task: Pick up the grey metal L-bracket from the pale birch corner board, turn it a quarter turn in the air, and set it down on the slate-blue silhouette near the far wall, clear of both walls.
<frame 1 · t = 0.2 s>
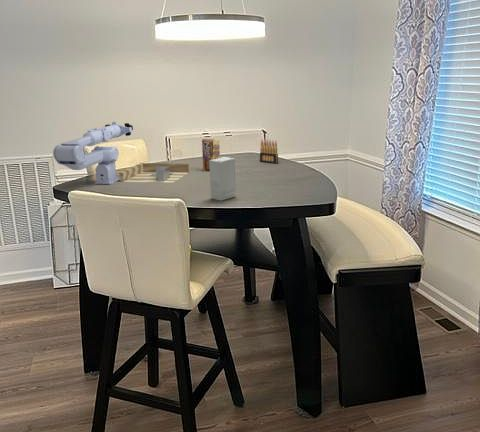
hand: (124, 128, 238), 21 cm above the table, tool horizontal, fingers open, 7 cm apart
skincare box: (223, 198, 191), on the table
arena: (156, 178, 230), on the table
ammunition clip: (268, 163, 263), on the table
bracket: (164, 179, 223), point 1 cm above the table, touching arena
candy box: (211, 171, 244), on the table
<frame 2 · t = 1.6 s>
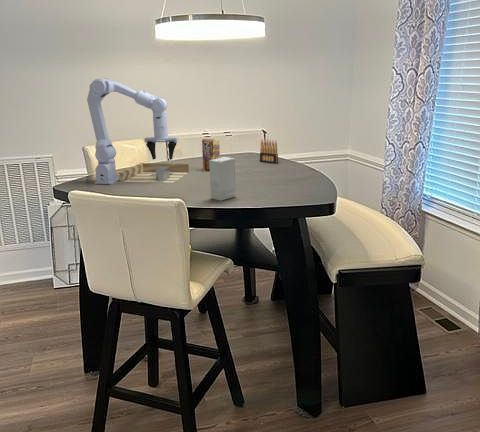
hand: (162, 159, 220), 10 cm above the table, tool pointing down, fingers open, 7 cm apart
nothing on the table moved.
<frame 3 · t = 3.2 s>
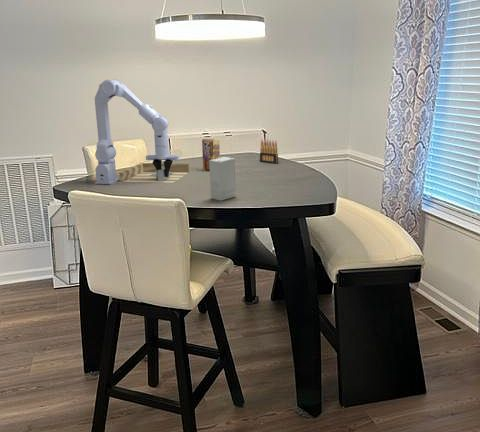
hand: (163, 176, 222), 2 cm above the table, tool pointing down, fingers closed on bracket, 2 cm apart
bracket: (164, 179, 223), point 1 cm above the table, touching arena, gripper
everything else where it was.
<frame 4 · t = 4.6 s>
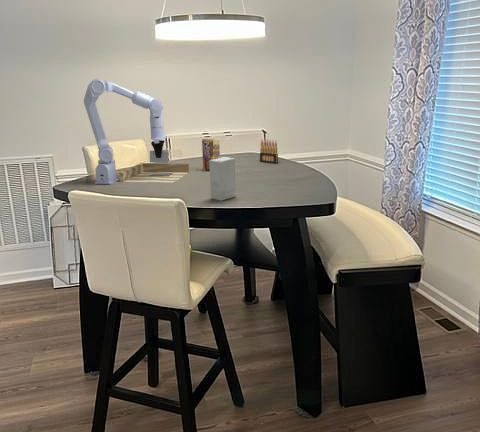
hand: (158, 157, 228), 9 cm above the table, tool pointing down, fingers closed on bracket, 2 cm apart
bracket: (159, 162, 229), point 7 cm above the table, touching gripper
everything else where it was.
when the fingers open (4 cm above the table, at t = 6.2 s): bracket stays where it is, resting on arena.
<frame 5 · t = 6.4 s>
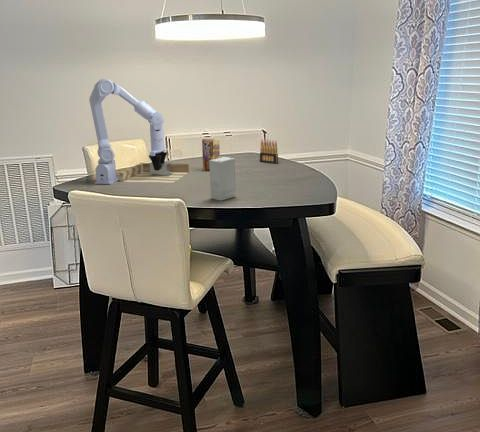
hand: (159, 169, 232), 4 cm above the table, tool pointing down, fingers open, 5 cm apart
bracket: (158, 174, 233), point 1 cm above the table, touching arena, gripper
everything else where it was.
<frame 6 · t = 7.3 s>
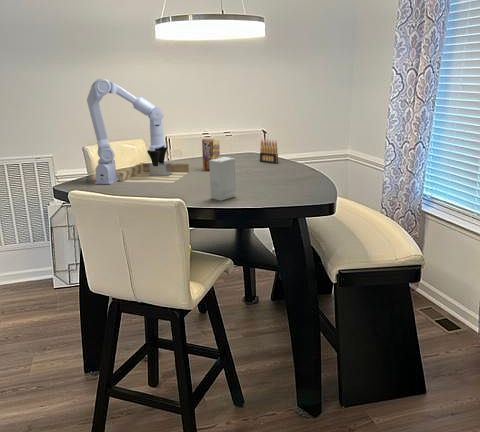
hand: (158, 164, 231), 6 cm above the table, tool pointing down, fingers open, 7 cm apart
bracket: (159, 174, 233), point 1 cm above the table, touching arena
everything else where it was.
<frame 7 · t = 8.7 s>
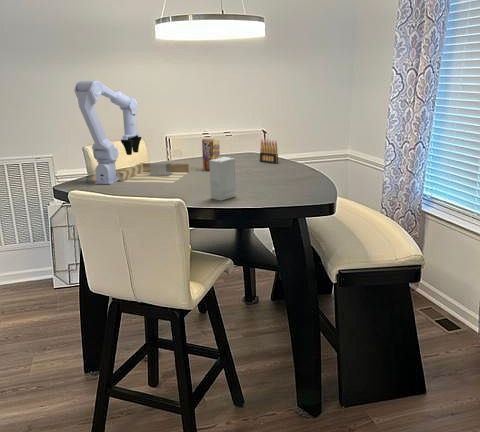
hand: (132, 153, 238), 10 cm above the table, tool pointing down, fingers open, 7 cm apart
nothing on the table moved.
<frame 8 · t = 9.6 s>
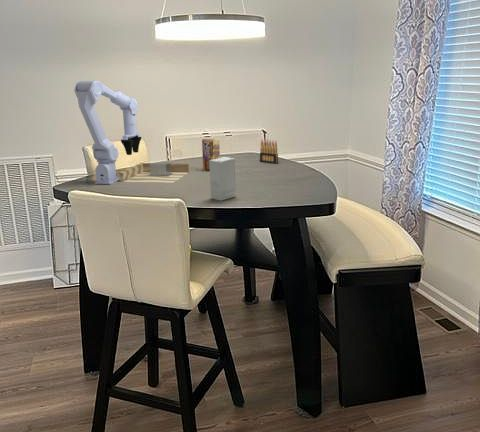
hand: (132, 153, 238), 10 cm above the table, tool pointing down, fingers open, 7 cm apart
nothing on the table moved.
at the end: bracket 0.7 cm from the target spot, point 1.0 cm above the table; bracket tilted 0°; the gripper is holding nothing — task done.
